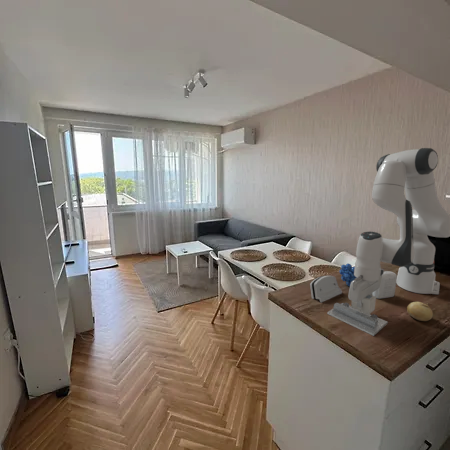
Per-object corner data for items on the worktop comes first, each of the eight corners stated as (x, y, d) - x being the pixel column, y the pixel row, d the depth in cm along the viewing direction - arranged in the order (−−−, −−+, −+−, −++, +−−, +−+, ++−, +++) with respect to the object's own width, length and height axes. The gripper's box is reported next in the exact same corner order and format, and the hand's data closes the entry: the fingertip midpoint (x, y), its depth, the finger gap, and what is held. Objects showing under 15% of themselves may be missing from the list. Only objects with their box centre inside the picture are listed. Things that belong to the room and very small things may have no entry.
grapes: (333, 284, 128) (335, 262, 125) (341, 281, 132) (343, 260, 129) (355, 293, 118) (358, 269, 116) (363, 289, 122) (365, 266, 120)
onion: (410, 321, 95) (413, 305, 94) (403, 311, 103) (405, 295, 101) (435, 325, 93) (438, 308, 91) (426, 314, 100) (428, 298, 99)
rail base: (342, 304, 109) (342, 296, 108) (387, 323, 94) (388, 314, 94) (327, 313, 102) (327, 305, 101) (373, 336, 87) (374, 326, 87)
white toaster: (320, 302, 110) (315, 280, 111) (312, 301, 114) (307, 280, 115) (342, 292, 119) (337, 272, 120) (334, 292, 123) (329, 272, 124)
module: (356, 303, 105) (358, 289, 103) (374, 310, 99) (376, 296, 98) (351, 307, 102) (352, 293, 100) (368, 314, 96) (370, 300, 95)
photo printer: (388, 292, 118) (391, 268, 116) (395, 297, 114) (399, 272, 112) (370, 295, 116) (372, 271, 113) (377, 299, 112) (380, 274, 109)
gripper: (362, 282, 89) (359, 316, 91) (386, 268, 100) (382, 299, 103) (345, 276, 94) (342, 309, 96) (369, 264, 105) (366, 293, 108)
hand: (363, 304), depth 100 cm, fingers closed on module, 5 cm apart
